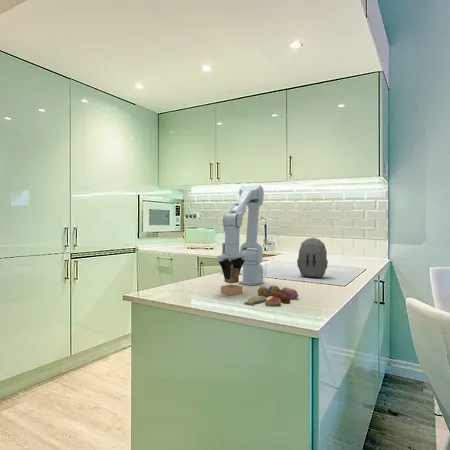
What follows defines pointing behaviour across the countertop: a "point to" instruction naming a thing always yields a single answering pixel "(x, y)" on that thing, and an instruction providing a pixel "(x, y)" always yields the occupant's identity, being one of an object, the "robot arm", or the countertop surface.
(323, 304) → the countertop surface
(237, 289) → the base block
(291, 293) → the toy food set
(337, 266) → the countertop surface
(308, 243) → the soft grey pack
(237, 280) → the walnut block
